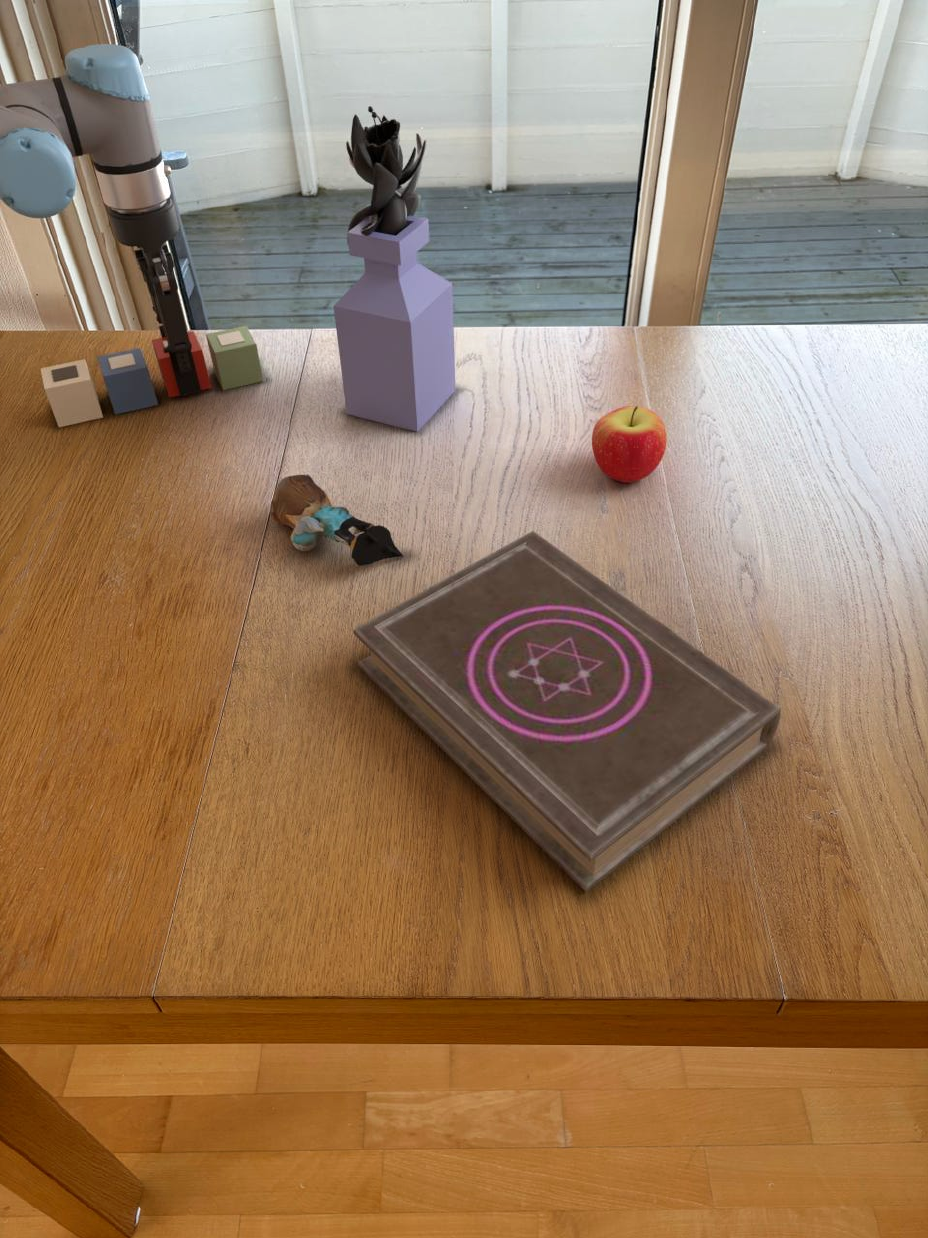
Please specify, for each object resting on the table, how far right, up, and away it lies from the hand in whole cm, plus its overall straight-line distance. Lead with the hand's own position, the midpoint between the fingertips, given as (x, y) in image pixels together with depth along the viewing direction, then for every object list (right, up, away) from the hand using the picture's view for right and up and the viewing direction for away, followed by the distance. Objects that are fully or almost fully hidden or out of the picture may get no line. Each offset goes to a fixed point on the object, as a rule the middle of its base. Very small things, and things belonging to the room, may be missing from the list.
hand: (185, 380), depth 125 cm
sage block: (+6, +1, +3) cm, 7 cm away
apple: (+55, -15, -15) cm, 59 cm away
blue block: (-7, -3, -1) cm, 7 cm away
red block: (0, 0, 0) cm, 0 cm away
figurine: (+22, -23, -23) cm, 40 cm away
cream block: (-13, -5, -3) cm, 14 cm away
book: (+45, -39, -40) cm, 72 cm away
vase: (+29, -3, -3) cm, 29 cm away
